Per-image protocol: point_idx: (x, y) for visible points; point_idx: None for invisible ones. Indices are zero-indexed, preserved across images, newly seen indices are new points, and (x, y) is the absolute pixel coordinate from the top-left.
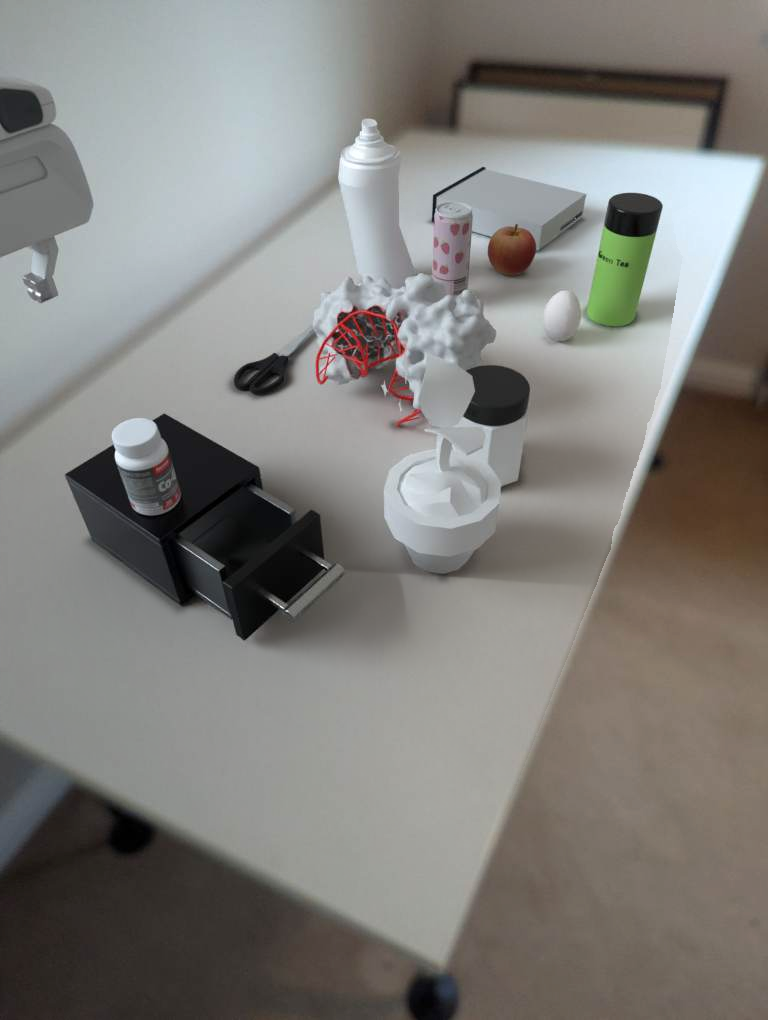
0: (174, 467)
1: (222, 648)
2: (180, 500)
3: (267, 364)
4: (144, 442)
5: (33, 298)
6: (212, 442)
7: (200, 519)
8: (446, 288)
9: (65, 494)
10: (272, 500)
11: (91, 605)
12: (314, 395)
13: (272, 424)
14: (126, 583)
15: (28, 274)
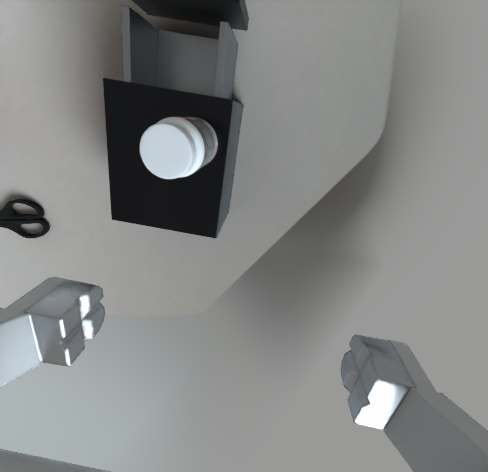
0: None
1: (259, 41)
2: None
3: (11, 222)
4: (172, 125)
5: (101, 312)
6: (109, 150)
7: None
8: None
9: (206, 258)
10: (126, 40)
11: (273, 169)
12: (7, 165)
13: (57, 174)
14: (246, 161)
15: (51, 360)
